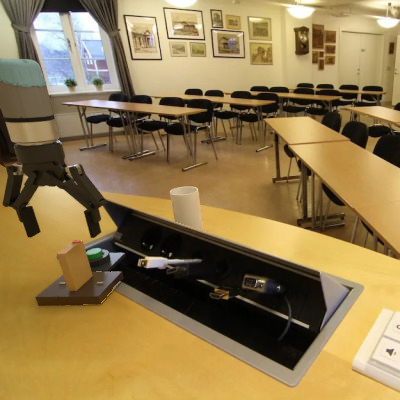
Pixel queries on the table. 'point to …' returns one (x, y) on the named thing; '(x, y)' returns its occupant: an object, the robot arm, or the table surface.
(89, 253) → the release button
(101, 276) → the lock plate
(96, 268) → the block
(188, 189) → the cup
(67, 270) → the tan upright slab
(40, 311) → the table surface
